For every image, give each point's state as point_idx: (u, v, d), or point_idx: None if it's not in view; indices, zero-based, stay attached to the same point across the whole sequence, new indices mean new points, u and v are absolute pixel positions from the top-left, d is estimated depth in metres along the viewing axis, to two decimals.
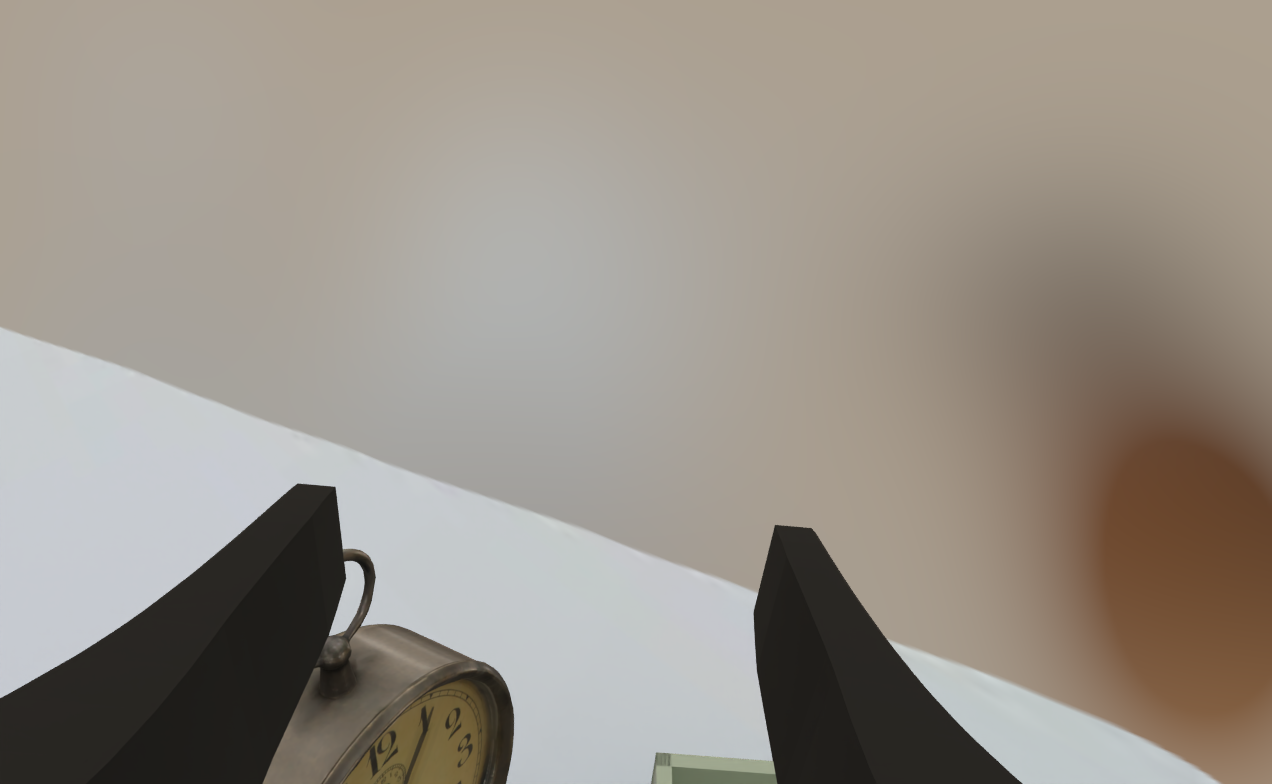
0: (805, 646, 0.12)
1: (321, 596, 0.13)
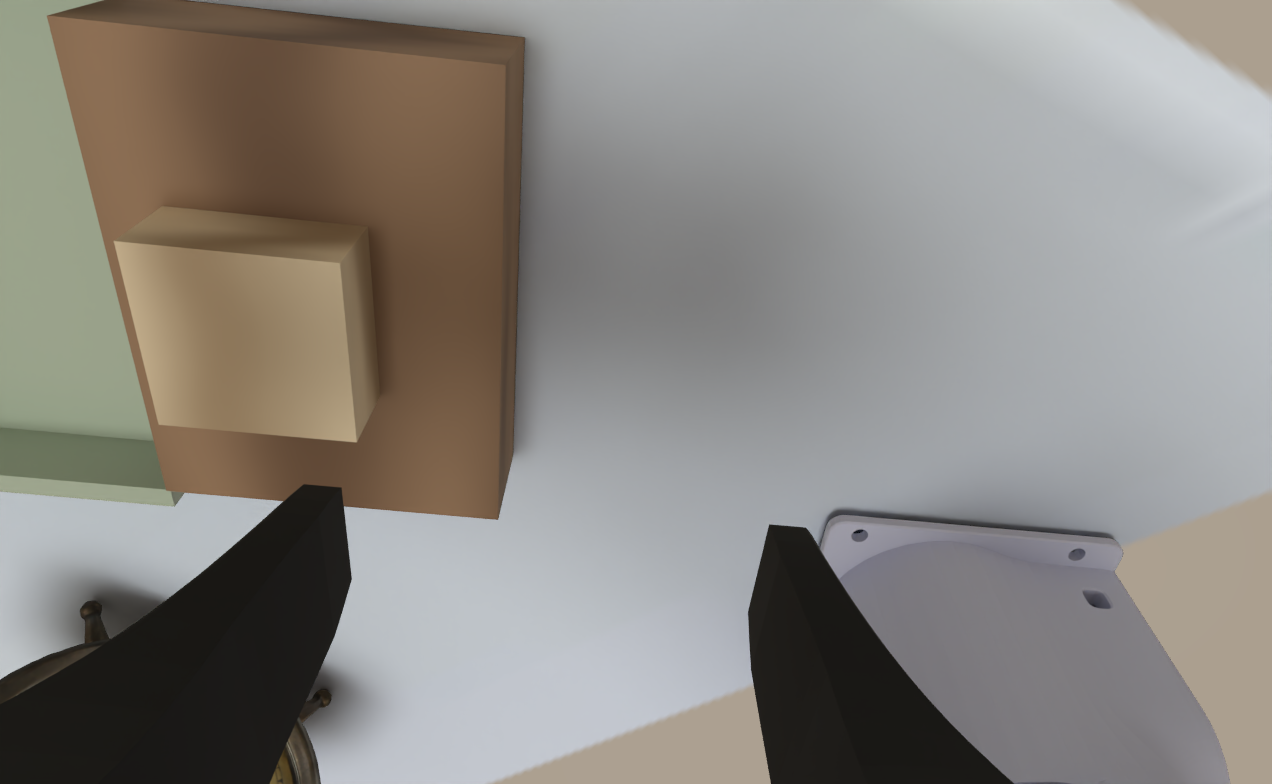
0: (798, 645, 0.12)
1: (327, 596, 0.13)
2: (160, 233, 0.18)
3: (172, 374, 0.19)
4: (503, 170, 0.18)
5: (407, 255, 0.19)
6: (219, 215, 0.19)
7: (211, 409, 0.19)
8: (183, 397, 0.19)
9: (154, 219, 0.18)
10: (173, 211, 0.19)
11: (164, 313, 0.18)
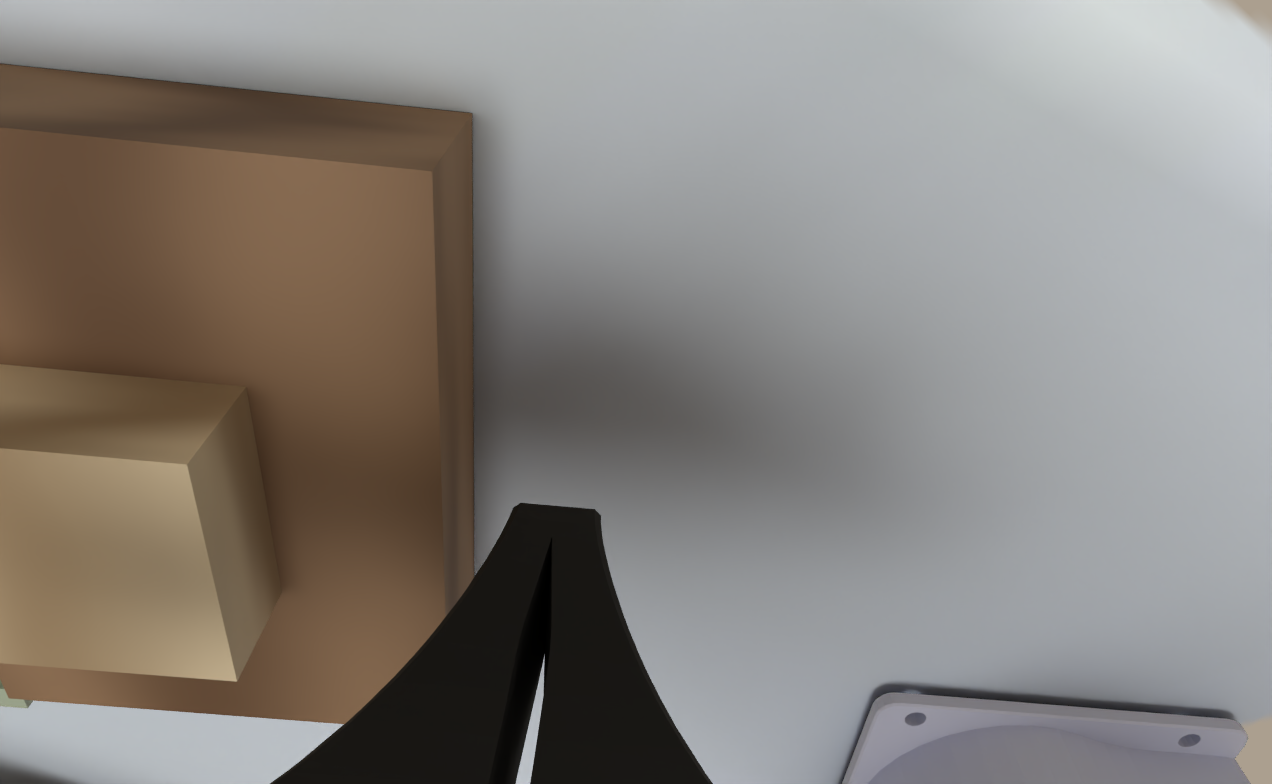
0: (549, 625, 0.11)
1: (546, 614, 0.13)
2: None
3: None
4: (435, 314, 0.13)
5: (305, 423, 0.14)
6: (30, 374, 0.13)
7: (28, 642, 0.14)
8: None
9: None
10: None
11: None
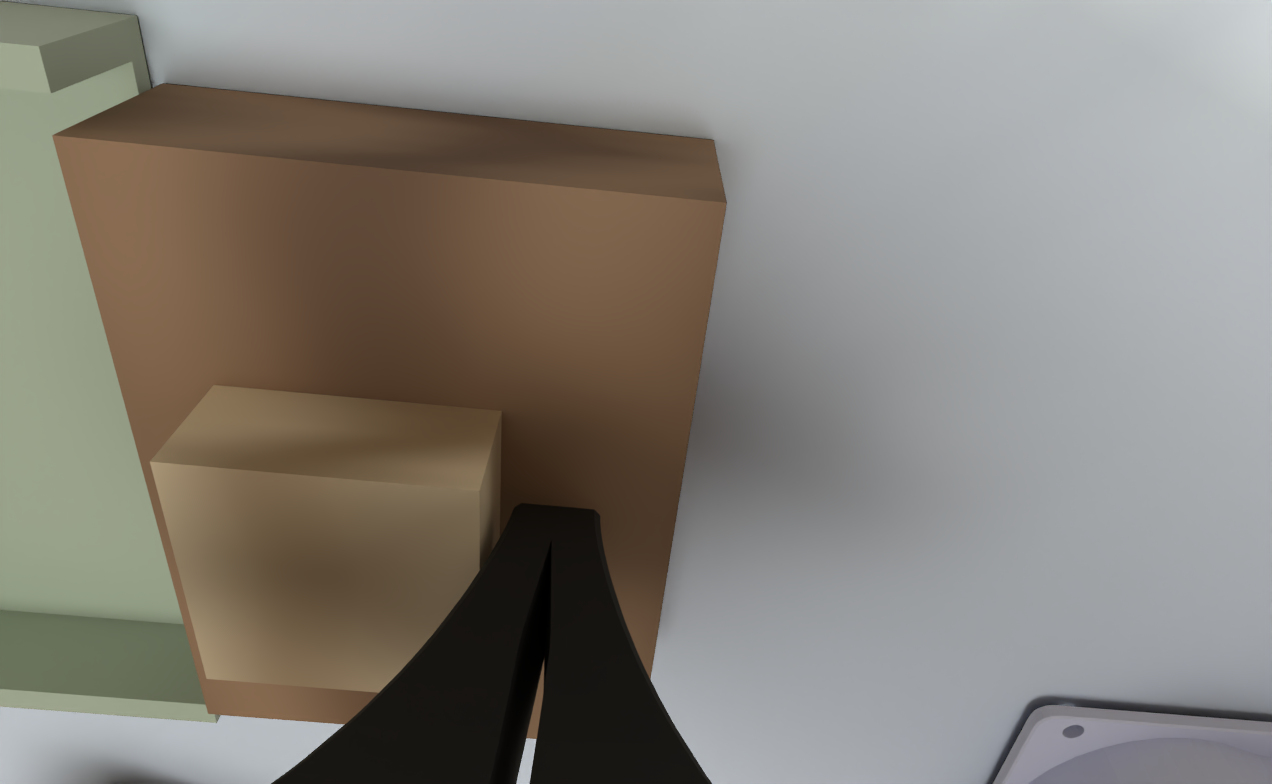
0: (549, 625, 0.11)
1: (546, 614, 0.13)
2: (215, 441, 0.12)
3: (228, 622, 0.13)
4: (703, 340, 0.13)
5: (554, 446, 0.14)
6: (295, 399, 0.13)
7: (281, 662, 0.14)
8: (242, 647, 0.14)
9: (205, 412, 0.13)
10: (231, 393, 0.13)
11: (220, 550, 0.12)
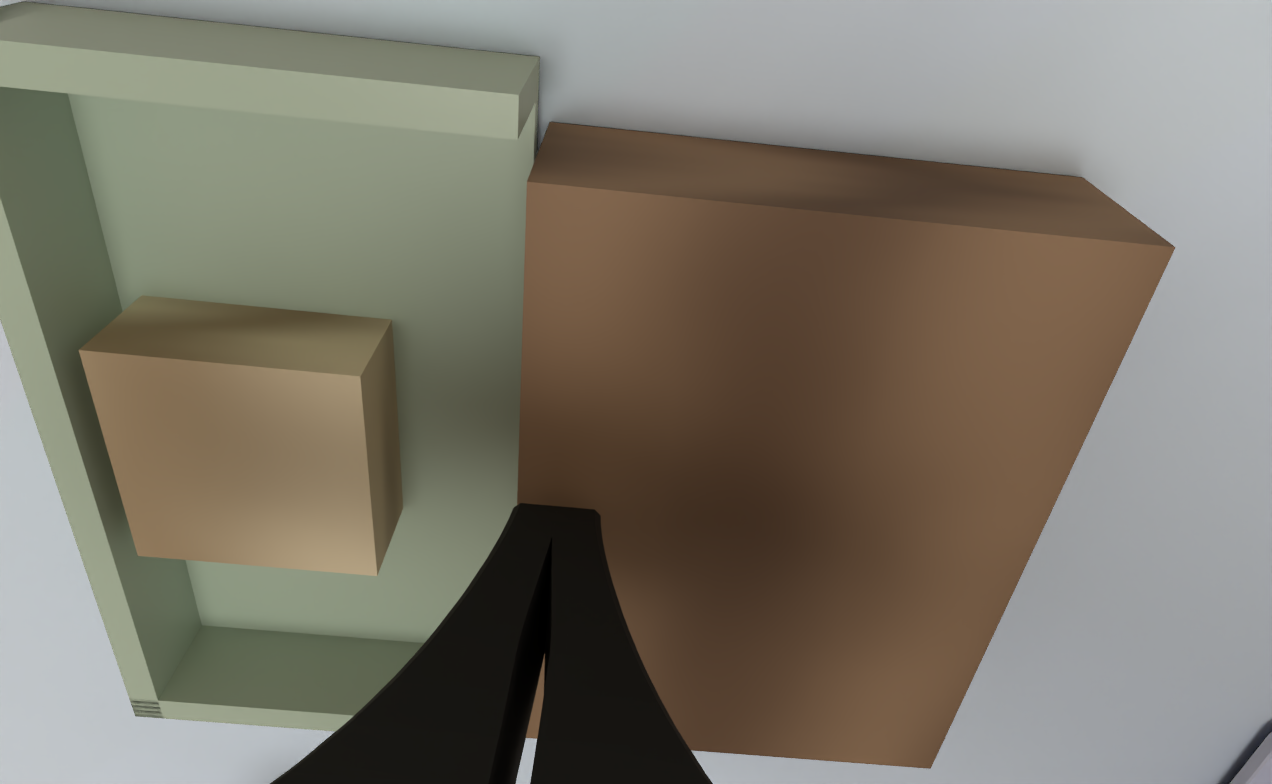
0: (549, 625, 0.11)
1: (546, 614, 0.13)
2: (346, 330, 0.15)
3: None
4: (1111, 378, 0.13)
5: (934, 479, 0.14)
6: (282, 362, 0.14)
7: None
8: None
9: (361, 352, 0.14)
10: (342, 367, 0.14)
11: None
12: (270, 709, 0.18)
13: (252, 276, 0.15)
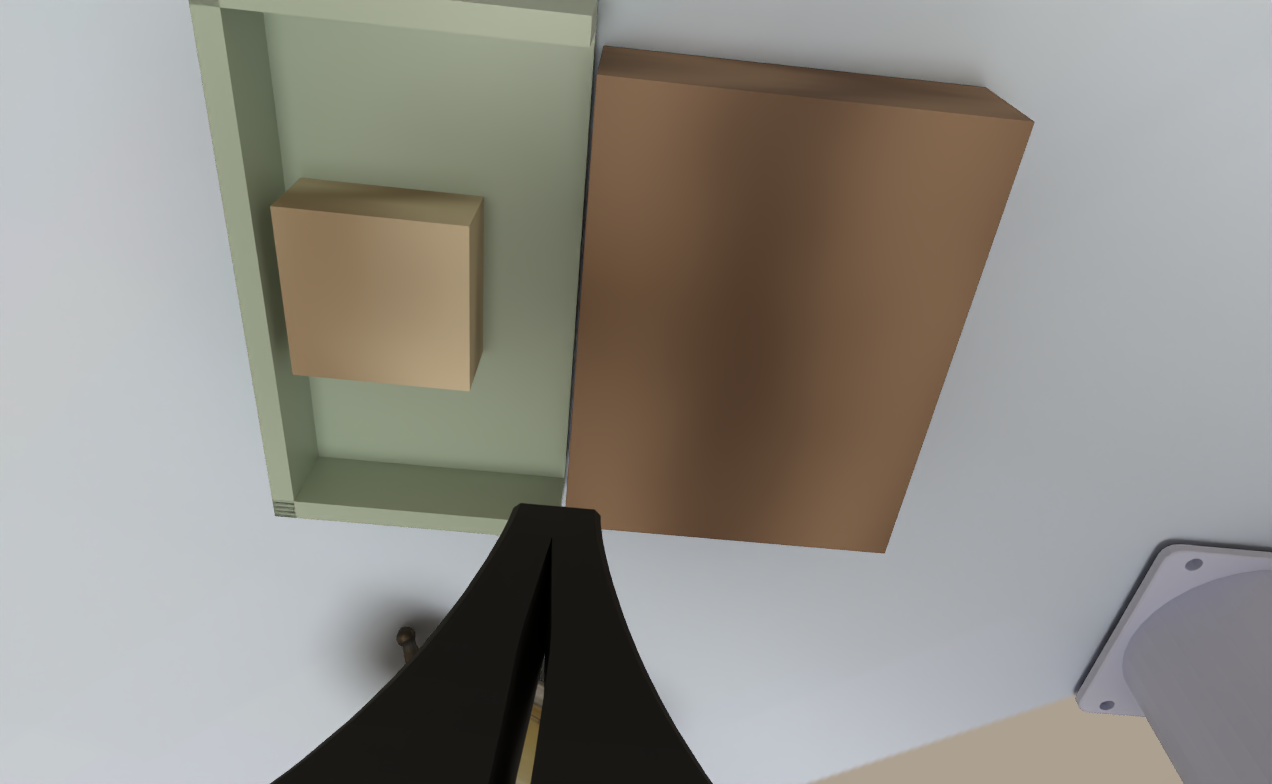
0: (549, 625, 0.11)
1: (546, 614, 0.13)
2: (453, 201, 0.21)
3: None
4: (998, 221, 0.19)
5: (878, 302, 0.20)
6: (412, 217, 0.20)
7: None
8: None
9: (466, 214, 0.20)
10: (455, 221, 0.20)
11: None
12: (379, 509, 0.24)
13: (383, 162, 0.21)
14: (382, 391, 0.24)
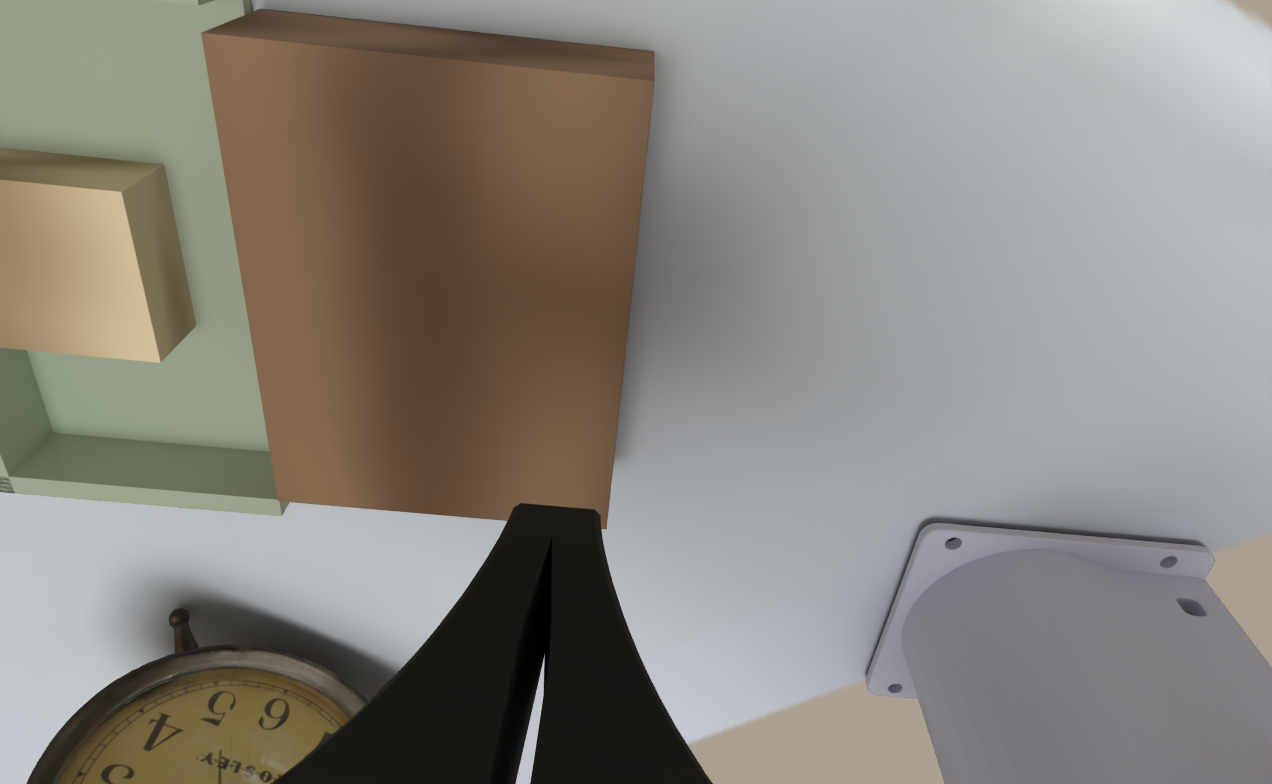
0: (549, 625, 0.11)
1: (546, 614, 0.13)
2: (125, 168, 0.20)
3: None
4: (642, 184, 0.18)
5: (539, 268, 0.19)
6: (66, 182, 0.19)
7: None
8: None
9: (129, 180, 0.20)
10: (110, 187, 0.19)
11: None
12: (96, 485, 0.24)
13: (56, 129, 0.20)
14: (103, 366, 0.24)
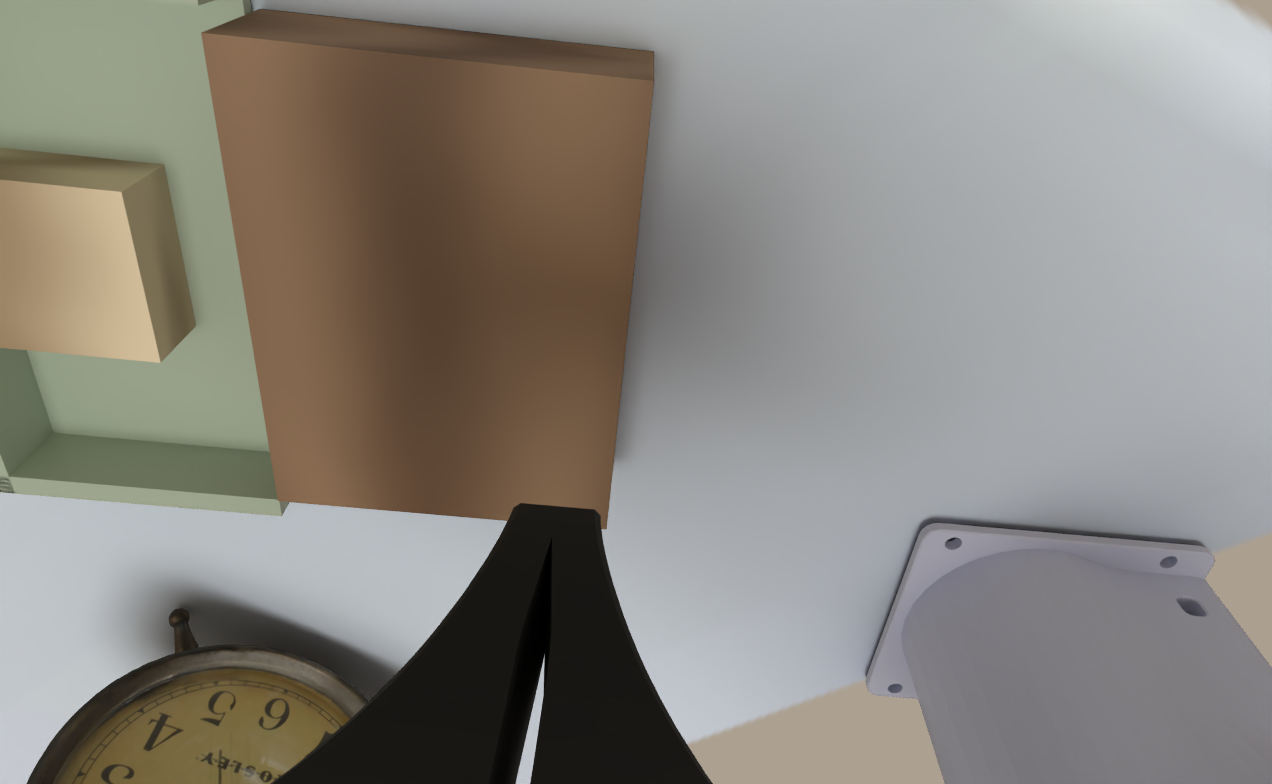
0: (549, 625, 0.11)
1: (546, 614, 0.13)
2: (125, 168, 0.20)
3: None
4: (642, 184, 0.18)
5: (539, 268, 0.19)
6: (66, 182, 0.19)
7: None
8: None
9: (129, 180, 0.20)
10: (110, 187, 0.19)
11: None
12: (96, 485, 0.24)
13: (56, 129, 0.20)
14: (103, 366, 0.24)
